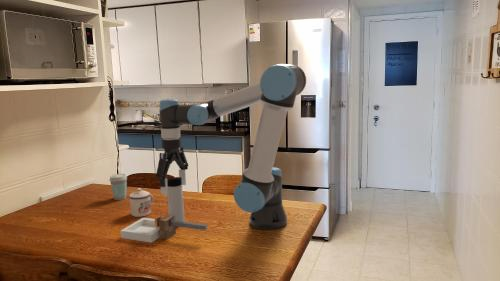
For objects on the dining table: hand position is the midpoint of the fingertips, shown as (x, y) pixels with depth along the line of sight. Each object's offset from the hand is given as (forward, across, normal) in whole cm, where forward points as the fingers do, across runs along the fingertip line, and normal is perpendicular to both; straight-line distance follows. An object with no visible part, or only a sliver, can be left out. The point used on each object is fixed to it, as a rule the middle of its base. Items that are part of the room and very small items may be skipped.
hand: (174, 189), depth 158 cm
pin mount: (+15, +12, +4) cm, 19 cm away
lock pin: (+11, +12, +10) cm, 19 cm away
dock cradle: (+15, +12, -5) cm, 20 cm away
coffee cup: (+16, -21, -46) cm, 53 cm away
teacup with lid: (+15, -7, -21) cm, 27 cm away
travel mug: (+15, 0, +1) cm, 15 cm away
